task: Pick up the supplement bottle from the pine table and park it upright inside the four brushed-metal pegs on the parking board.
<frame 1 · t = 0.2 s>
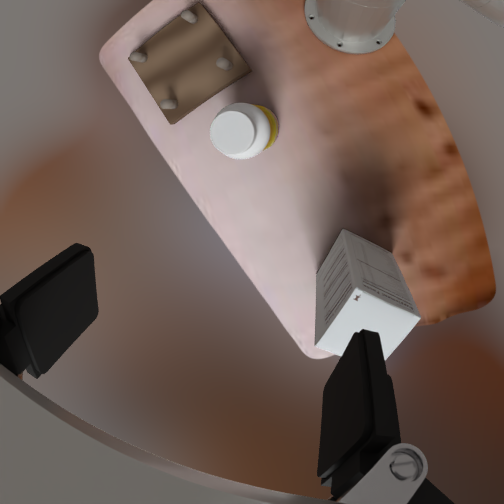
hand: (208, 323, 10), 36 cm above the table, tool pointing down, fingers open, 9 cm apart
supplement bottle: (256, 128, 41), on the table
parking board: (187, 62, 38), on the table
supplement box: (354, 264, 46), on the table
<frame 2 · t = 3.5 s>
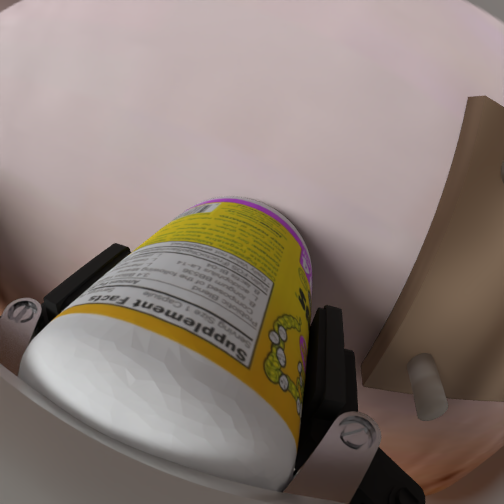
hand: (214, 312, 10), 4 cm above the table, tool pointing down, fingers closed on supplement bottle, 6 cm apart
supplement bottle: (239, 262, 14), on the table, touching gripper
when the fingers open (7 cm above the table, at t = 9.9 s): supplement bottle drops 1 cm, resting on parking board.
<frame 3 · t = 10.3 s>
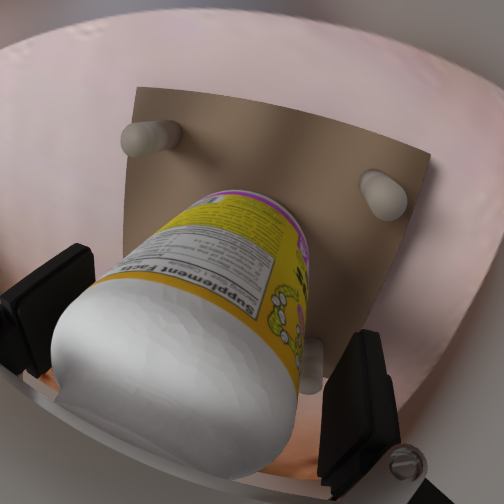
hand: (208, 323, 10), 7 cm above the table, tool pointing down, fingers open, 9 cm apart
supplement bottle: (243, 250, 15), point 1 cm above the table, touching parking board
parking board: (252, 239, 16), on the table
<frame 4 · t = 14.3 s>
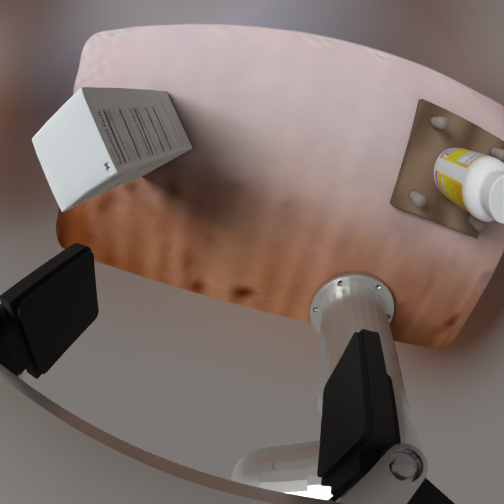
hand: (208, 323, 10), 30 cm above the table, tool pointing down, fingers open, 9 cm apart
supplement bottle: (453, 172, 31), point 1 cm above the table, touching parking board
parking board: (451, 170, 32), on the table
supplement box: (153, 134, 38), on the table
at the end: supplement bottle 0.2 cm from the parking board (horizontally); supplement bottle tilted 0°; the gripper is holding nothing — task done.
